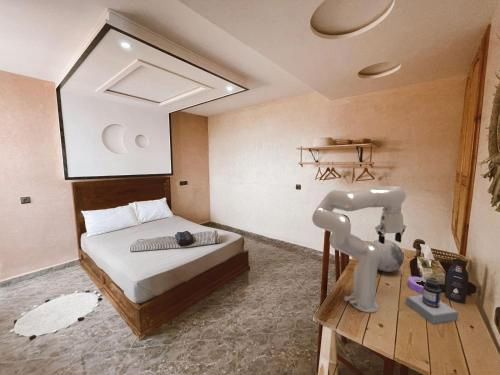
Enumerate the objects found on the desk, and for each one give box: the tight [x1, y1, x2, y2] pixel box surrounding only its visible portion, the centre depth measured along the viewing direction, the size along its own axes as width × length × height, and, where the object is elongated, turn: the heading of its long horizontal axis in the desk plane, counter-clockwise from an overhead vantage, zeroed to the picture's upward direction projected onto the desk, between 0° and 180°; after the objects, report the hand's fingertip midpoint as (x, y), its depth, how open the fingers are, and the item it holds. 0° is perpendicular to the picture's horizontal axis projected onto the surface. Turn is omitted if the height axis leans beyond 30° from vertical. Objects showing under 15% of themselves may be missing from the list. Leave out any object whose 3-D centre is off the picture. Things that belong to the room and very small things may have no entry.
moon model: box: [371, 238, 405, 273], centre depth 133 cm, size 20×20×20 cm
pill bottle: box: [422, 278, 442, 308], centre depth 95 cm, size 6×6×11 cm
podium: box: [405, 294, 459, 325], centre depth 96 cm, size 13×13×4 cm
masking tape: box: [407, 276, 426, 295], centre depth 114 cm, size 12×12×4 cm
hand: (389, 242), depth 108 cm, fingers open, 9 cm apart
